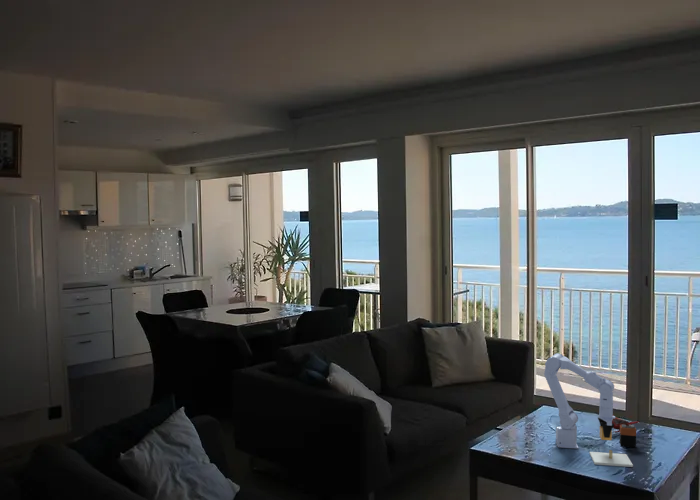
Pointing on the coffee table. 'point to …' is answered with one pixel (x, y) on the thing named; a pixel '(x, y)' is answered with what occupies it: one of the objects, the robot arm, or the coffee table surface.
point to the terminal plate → (610, 459)
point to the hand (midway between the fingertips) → (605, 435)
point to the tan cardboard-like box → (603, 434)
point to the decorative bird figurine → (621, 423)
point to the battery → (628, 435)
